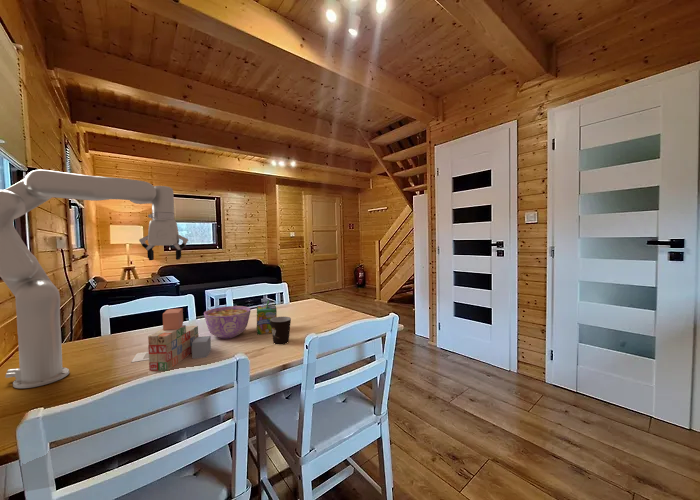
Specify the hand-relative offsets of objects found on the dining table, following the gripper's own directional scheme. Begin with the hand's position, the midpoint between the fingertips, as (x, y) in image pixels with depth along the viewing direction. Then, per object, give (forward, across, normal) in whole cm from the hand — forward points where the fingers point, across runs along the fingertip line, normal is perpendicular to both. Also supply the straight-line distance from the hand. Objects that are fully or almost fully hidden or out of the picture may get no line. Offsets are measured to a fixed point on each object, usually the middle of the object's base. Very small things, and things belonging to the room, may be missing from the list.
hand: (164, 259), depth 122 cm
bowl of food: (+36, +22, +10) cm, 44 cm away
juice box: (+37, +39, +12) cm, 55 cm away
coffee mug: (+36, +45, -4) cm, 58 cm away
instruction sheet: (+36, -3, -7) cm, 37 cm away
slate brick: (+36, +15, -11) cm, 41 cm away
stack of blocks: (+37, +7, -12) cm, 39 cm away
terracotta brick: (+24, +6, -13) cm, 28 cm away
